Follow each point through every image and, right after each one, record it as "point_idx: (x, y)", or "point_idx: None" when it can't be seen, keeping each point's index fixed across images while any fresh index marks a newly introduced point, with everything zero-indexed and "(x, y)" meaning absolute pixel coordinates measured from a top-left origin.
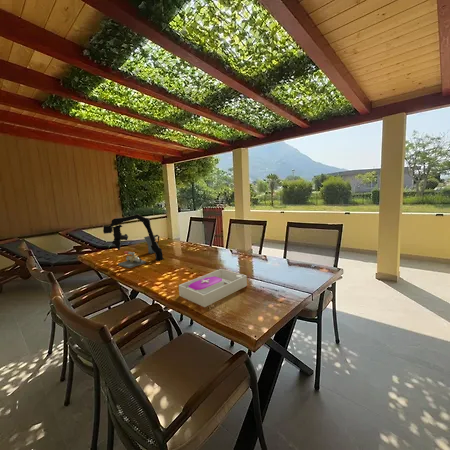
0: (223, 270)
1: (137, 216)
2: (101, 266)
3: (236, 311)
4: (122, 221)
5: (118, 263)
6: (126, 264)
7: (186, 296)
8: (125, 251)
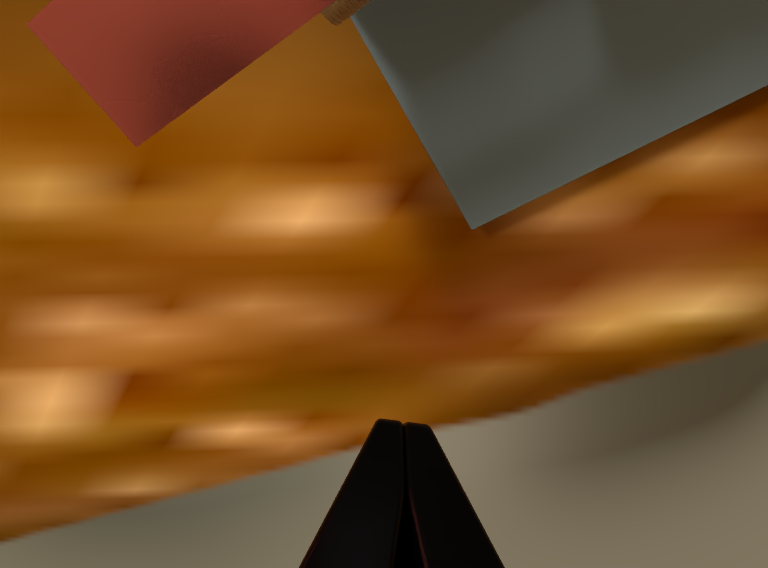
0: None
1: None
2: (362, 439)
3: None
4: None
5: (478, 218)
6: (763, 15)
7: None
8: (189, 74)
